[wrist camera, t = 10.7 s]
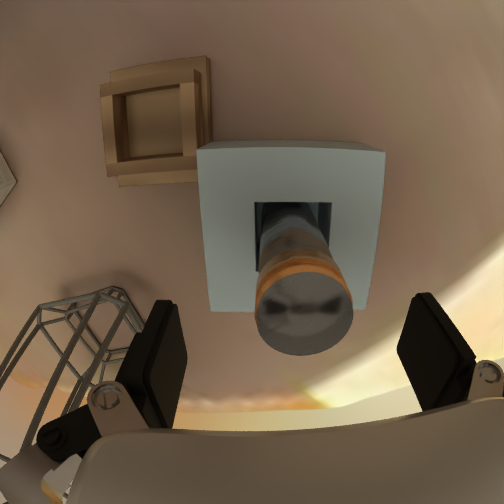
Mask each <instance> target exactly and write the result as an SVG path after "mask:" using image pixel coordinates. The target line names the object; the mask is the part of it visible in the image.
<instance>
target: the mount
mask: <svg viewBox="0 0 504 504" xmlns="http://www.w3.org/2000/svg"><path fill="white" fill-rule="evenodd" d="M110 81H111V83H106V84H102V85H100V94H101V114H102V128H103V140H104V151H105V160H106V168H107V176H108V177H111V176H118V183H119V187H124V186H136V185H149V184H164V183H180V182H198V168H197V152H196V150H197V149H199V148H201V147H203V146H205V145H206V144H208V143H210V142H212V128H211V102H210V69H209V58H208V57H207V56H199V57H190V58H182V59H175V60H168V61H161V62H155V63H150V64H144V65H139V66H134V67H129V68H125V69H120V70H116V71H112V72H110Z"/></svg>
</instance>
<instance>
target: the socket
mask: <svg viewBox="0 0 504 504" xmlns="http://www.w3.org/2000/svg"><path fill="white" fill-rule="evenodd" d="M196 152H197V168H198V183H199V197H200V209H201V221H202V233H203V244H204V254H205V264H206V274H207V283H208V292H209V301H210V310H211V312H255V298H256V283H257V279H258V276H259V258H260V234H261V211H262V207H263V204H264V202H308V204H309V206H310V209H311V211H312V213H313V215H314V217H315V219H316V221H317V224H318V226H319V228H320V230H321V232H322V235H323V237H324V239H325V241H326V244H327V246H328V248H329V250H330V253H331V255H332V257H333V259H334V261H335V262H336V264H337V265H338V267H339V268H340V270H341V273H342V275H343V277H344V280H345V282H346V284H347V287H348V289H349V291H350V294H351V296H352V301H353V310H365V308H366V304H367V298H368V293H369V288H370V283H371V277H372V271H373V265H374V259H375V253H376V246H377V239H378V232H379V224H380V216H381V207H382V197H383V187H384V175H385V160H386V152H384V151H381V150H379V149H376V148H373V147H370V146H367V145H364V144H361V143H354V142H337V141H314V140H237V141H214V142H210V143H208V144H206V145H205V146H203V147H201V148H199V149H197V150H196Z"/></svg>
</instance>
